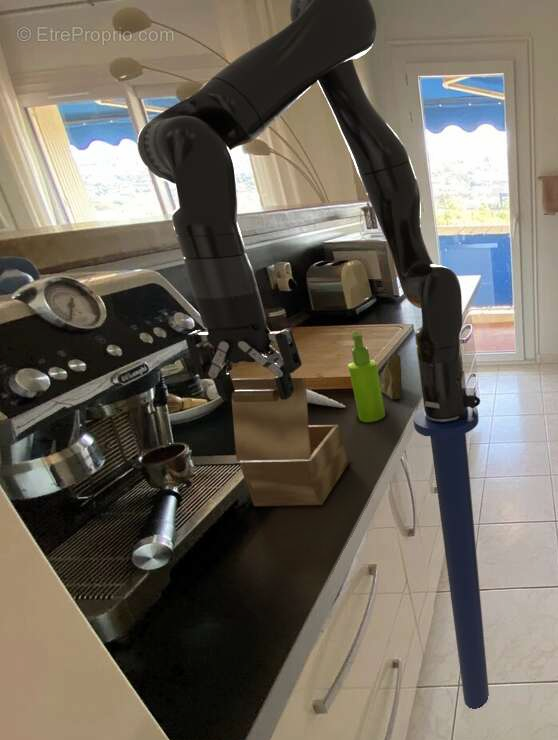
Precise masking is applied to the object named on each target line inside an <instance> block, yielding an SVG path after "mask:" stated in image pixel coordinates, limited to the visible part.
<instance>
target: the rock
mask: <svg viewBox="0 0 558 740" xmlns="http://www.w3.org/2000/svg"><path fill="white" fill-rule="evenodd" d="M380 387H381V392H382V393H383V395H386V396H387V397H389V398H390V399H391V400H400V399H401V398H402V362H401V355H399V354H398V353H396V352H392V354H390V356H389V359H388V361H387V363H386V365H385V366H384V369H383V370H382V372H381V375H380Z"/></svg>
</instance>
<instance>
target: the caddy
mask: <svg viewBox="0 0 558 740" xmlns="http://www.w3.org/2000/svg"><path fill="white" fill-rule="evenodd" d="M309 439H310V454H311V458H310V459H297V460H253V461H238V464H239V467H240V470H241V473H242V475H243V479H244V481H245V485H246V488H247V491H248V493H249V496H250V498H251V502H252V504H253V507H282V506H283V507H284V506H285V507H287V506H289V507H290V506H322V505H324V502H326V499H327V498H328V496H329V494H330V493H331V491H332V490H333V488H334V487H335V485H336V484H337V482H338V480H339V479H340V478H341V476H342V474H343V473H344V471H346V468H347V467H348V465H349V463H348V462H349V461H348V457H347V454H346V449H345V445H344V440H343V435H342V431H341V427H340V424H312V425H311V424H309Z"/></svg>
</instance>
